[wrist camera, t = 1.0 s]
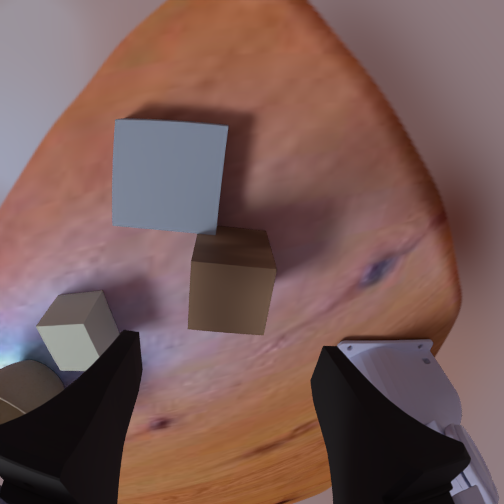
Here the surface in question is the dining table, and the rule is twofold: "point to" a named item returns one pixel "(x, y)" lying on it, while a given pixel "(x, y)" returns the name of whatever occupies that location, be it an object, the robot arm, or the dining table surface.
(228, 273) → the walnut block
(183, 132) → the slate slab
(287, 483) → the dining table surface
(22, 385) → the flower pot
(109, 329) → the sage block
